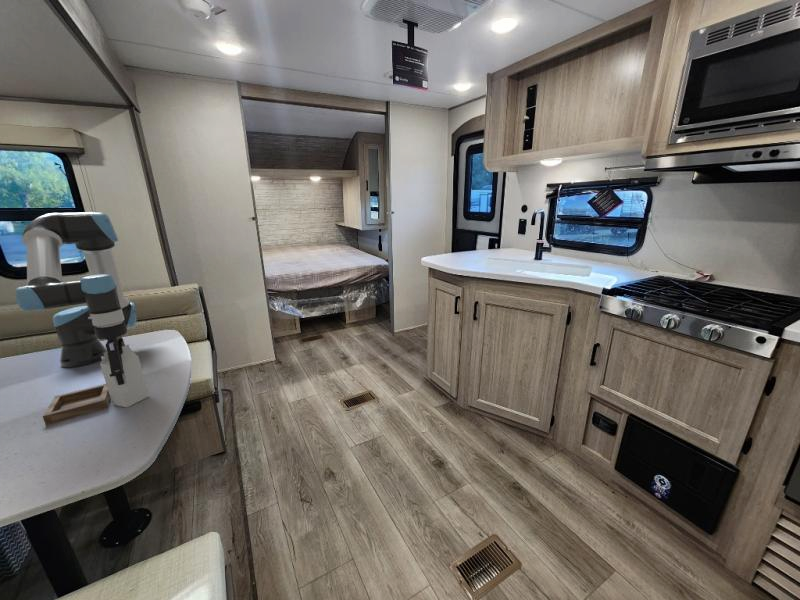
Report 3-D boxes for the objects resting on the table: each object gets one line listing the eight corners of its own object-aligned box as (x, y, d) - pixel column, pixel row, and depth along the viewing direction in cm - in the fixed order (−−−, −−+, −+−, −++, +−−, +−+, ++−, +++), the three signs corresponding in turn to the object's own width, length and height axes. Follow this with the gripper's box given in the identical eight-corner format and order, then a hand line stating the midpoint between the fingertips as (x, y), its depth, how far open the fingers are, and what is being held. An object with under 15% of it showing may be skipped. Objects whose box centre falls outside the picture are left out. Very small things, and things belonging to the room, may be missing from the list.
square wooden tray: (57, 404, 107) (54, 396, 107) (112, 390, 115) (110, 382, 114) (45, 425, 96) (42, 416, 96) (107, 408, 104) (104, 400, 103)
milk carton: (149, 396, 110) (135, 345, 105) (126, 408, 104) (110, 354, 99) (135, 393, 113) (121, 343, 108) (112, 404, 106) (96, 352, 101)
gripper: (99, 317, 109) (115, 373, 114) (85, 337, 89) (106, 404, 95) (128, 312, 113) (142, 367, 119) (120, 331, 93) (138, 396, 99)
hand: (126, 384), depth 107 cm, fingers open, 13 cm apart
